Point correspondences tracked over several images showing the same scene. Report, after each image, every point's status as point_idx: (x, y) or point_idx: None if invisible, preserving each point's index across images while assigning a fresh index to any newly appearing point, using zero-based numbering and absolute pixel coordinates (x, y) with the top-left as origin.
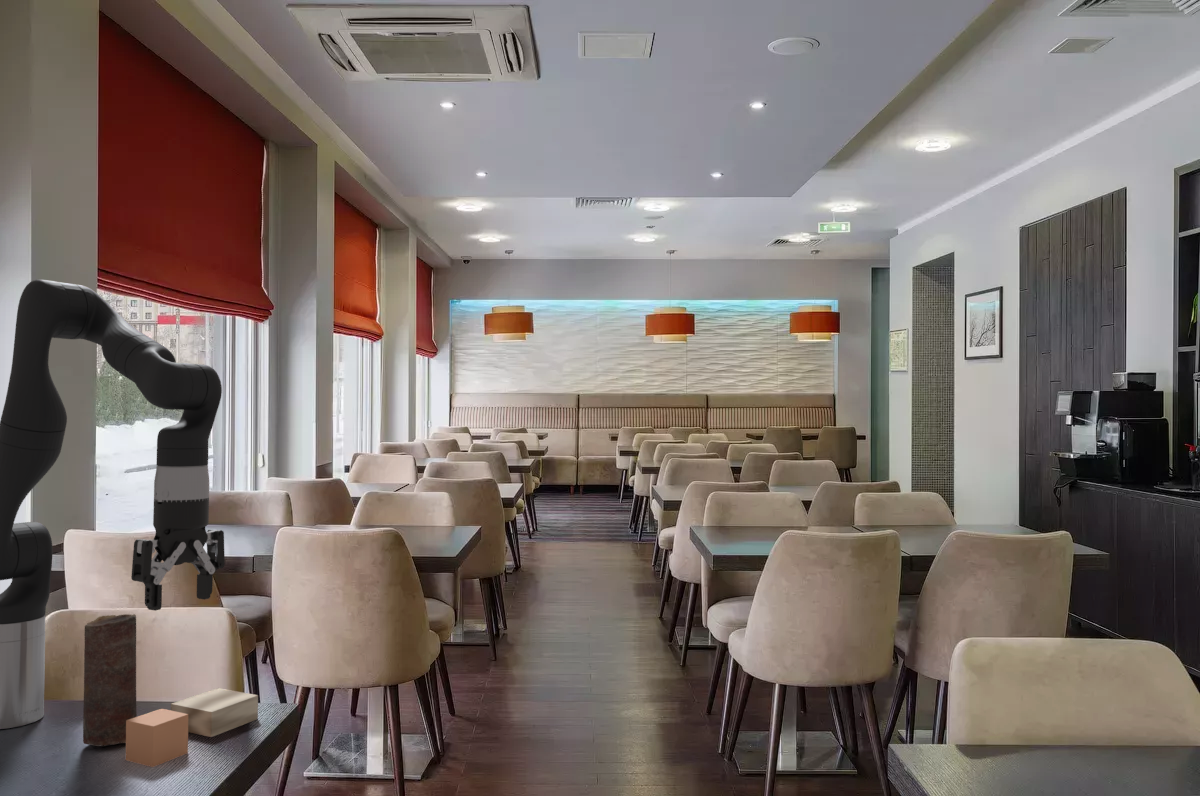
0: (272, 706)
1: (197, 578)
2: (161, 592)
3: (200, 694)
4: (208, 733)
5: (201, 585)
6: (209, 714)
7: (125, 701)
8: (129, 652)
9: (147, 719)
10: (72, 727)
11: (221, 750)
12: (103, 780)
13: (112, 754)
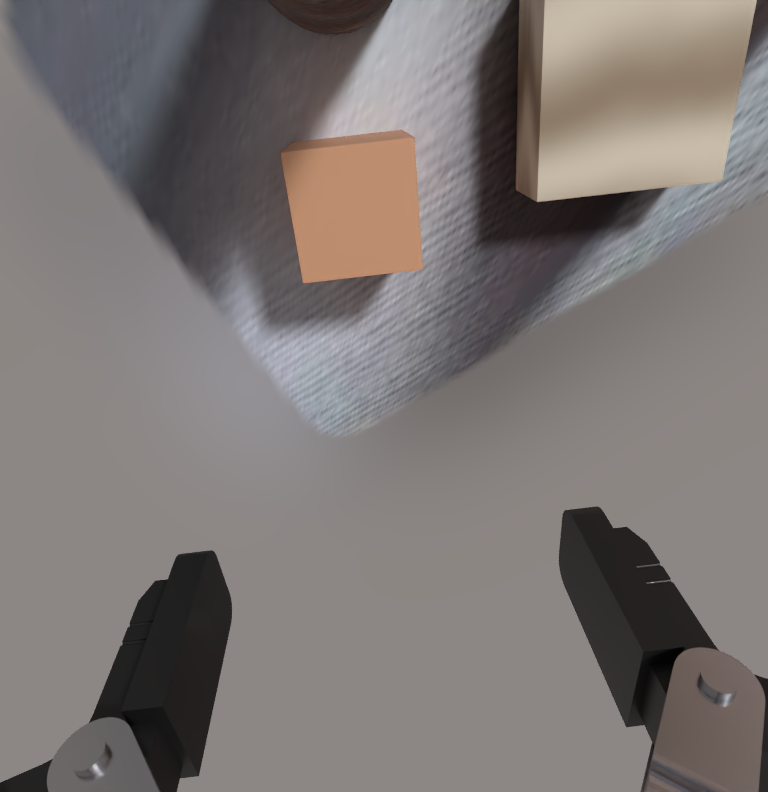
0: None
1: (625, 623)
2: (210, 711)
3: None
4: (518, 178)
5: (597, 609)
6: (535, 189)
7: (334, 21)
8: None
9: (325, 207)
10: None
11: (462, 296)
12: (195, 229)
13: (290, 56)
